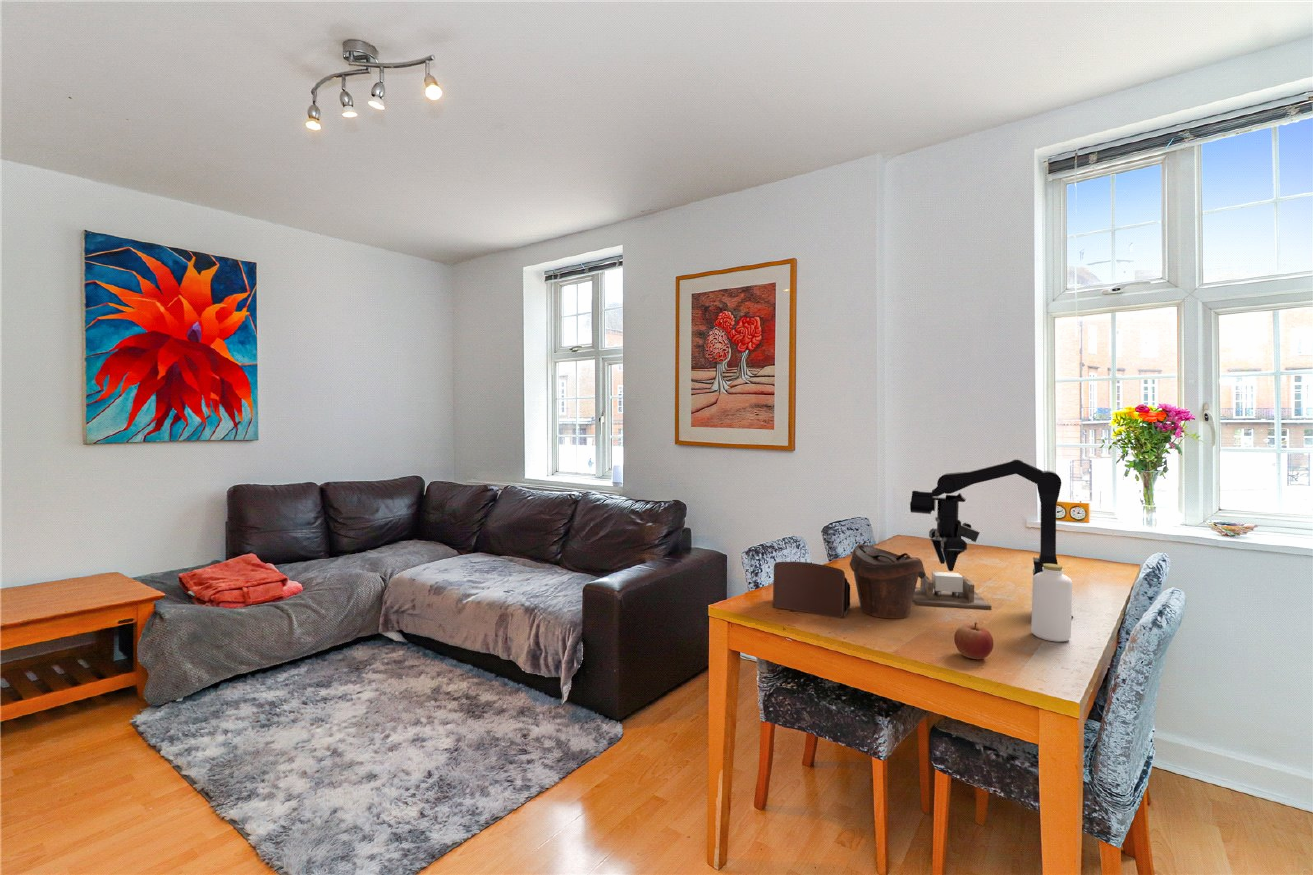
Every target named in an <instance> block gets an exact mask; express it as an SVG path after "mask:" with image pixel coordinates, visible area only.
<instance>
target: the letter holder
mask: <svg viewBox="0 0 1313 875" xmlns="http://www.w3.org/2000/svg"><path fill="white" fill-rule="evenodd" d="M772 588H773V589H772V590H773V591H772V592H773V594H772V608H774V609H778V610H779V609H780V610H786V611H793V612H800V613H805V614H813V615H818V616H825V617H829V618H838V619H844V618H845V616H846V615H847V614H848V613H849V610H850V609H851V584H850V582H849V581H848V579H847V577H846V574H845V571H844V570H842V569H841V568H838V567H834V566H829V565H825V564H819V563H813V562H807V561H806V562H804V561H778V562H777V561H776V562H775V563H774V564H773V586H772Z"/></svg>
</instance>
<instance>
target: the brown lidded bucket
mask: <svg viewBox="0 0 1313 875" xmlns="http://www.w3.org/2000/svg"><path fill="white" fill-rule="evenodd" d="M849 567H850V569H851V571H852V572H853V575H854V581H855V586H856V590H857V592H856V593H857V597H858V602H859V606H860V610H861V611H862V612H863V613H864V614H867V615H869V616H872V617H874V618H879V619H880V618H881V619H889V620H890V619H893V620H894V619H895V620H897V619H898V620H899V619H904V618H907V617H909V616H910V613H911V608H912V602H913V601H914V600H913V596H914V592H915V588H916V587H917V582H918V581H919V580H918V579H920V580H921V579H923V578H924V577H925V576H927V573H926V570H925V568H924V564H923V561H922V559H920V558H919V557H911V555H910V554H908V553H907V552H904V553H901V554H897V553H894V552H891V551H887V550H885V549H882V548H878V547H874V546H872V545H868V544H861V543H859V544H857V545H856V546H855V547H854V548H853V550H852V554H851V558H850V560H849Z"/></svg>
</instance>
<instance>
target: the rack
mask: <svg viewBox="0 0 1313 875" xmlns="http://www.w3.org/2000/svg"><path fill="white" fill-rule="evenodd" d="M961 576H962V577H963V592H949V591H935V590H934V589H933V582H932V579H930V578H929V577H928V575H926V576H925V577H924V578H923V579H920V587H919V586H918V587H917V586H916V588H915V592H914V596H913V600H912V601H913V602H914V604H916V606H917V605H918V606H928V607H929V606H931V607H948V608H964V609H979V610H992V605H991V604H990V603H989V602H988V601H986V600H985V599H984V598H983V597H982V596H981V595H980V594H979V593H978V592H976V591H975V584H974V583H973V582H972V581H970V580H969V579H968V578H967V577H966V576H964V575H961Z"/></svg>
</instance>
